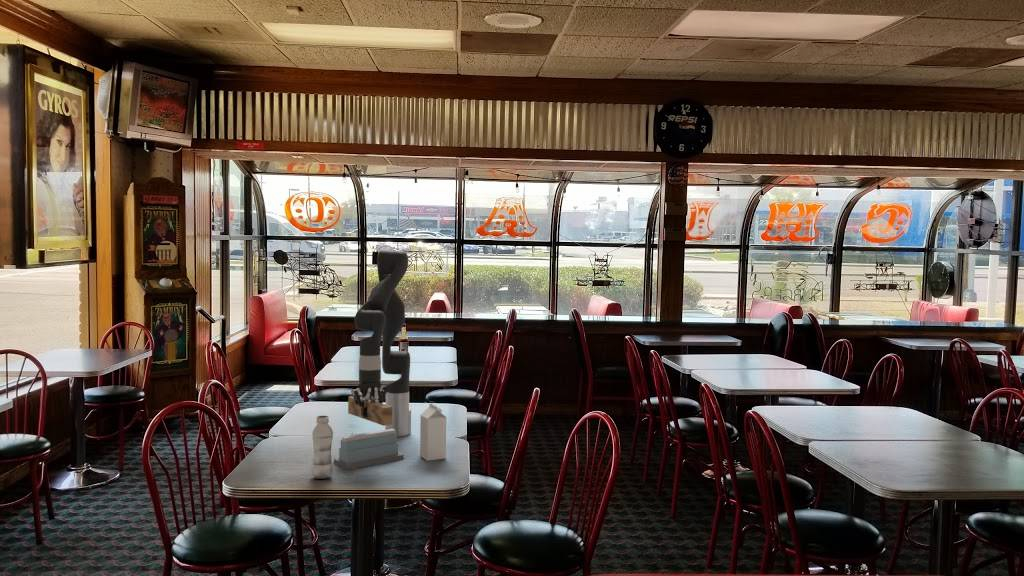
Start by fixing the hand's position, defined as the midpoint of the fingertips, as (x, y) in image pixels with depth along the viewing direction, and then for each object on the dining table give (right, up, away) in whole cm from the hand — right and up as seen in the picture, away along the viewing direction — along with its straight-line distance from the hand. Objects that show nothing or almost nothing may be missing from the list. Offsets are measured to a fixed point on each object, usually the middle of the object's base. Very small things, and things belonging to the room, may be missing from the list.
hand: (369, 416), depth 271 cm
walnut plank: (0, -1, 0) cm, 1 cm away
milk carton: (+21, -16, +6) cm, 27 cm away
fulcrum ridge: (0, -16, +1) cm, 16 cm away
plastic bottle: (-12, -17, -19) cm, 28 cm away
